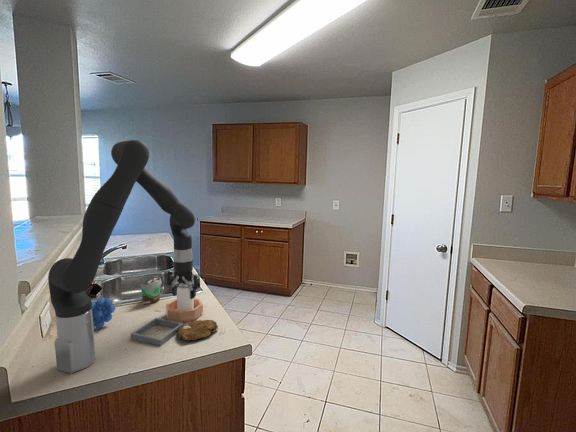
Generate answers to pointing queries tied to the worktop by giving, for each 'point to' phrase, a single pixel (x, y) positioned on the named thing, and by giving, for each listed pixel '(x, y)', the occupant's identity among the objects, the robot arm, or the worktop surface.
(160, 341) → the tray
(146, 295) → the food container
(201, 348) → the worktop surface
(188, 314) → the bowl
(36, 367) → the worktop surface
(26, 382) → the worktop surface
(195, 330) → the decorative rock
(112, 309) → the grapes
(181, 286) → the can
